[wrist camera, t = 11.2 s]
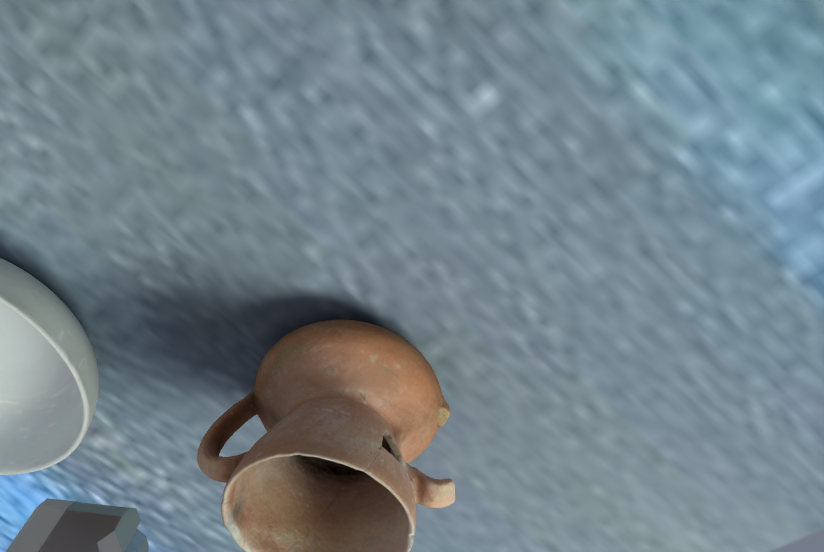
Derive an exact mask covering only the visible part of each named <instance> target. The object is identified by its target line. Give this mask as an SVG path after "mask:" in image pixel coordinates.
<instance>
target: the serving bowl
mask: <svg viewBox="0 0 824 552" xmlns="http://www.w3.org/2000/svg"><path fill="white" fill-rule="evenodd" d="M98 393H99V372H98V366H97V361H96V357H95V354H94V351H93V348H92V345H91V343H90V341H89V338H88V337H87V335H86V333H85V331H84V329H83V327H82V326H81V324H80V323H79V321H78V320H77V318H76V317H75V316H74V314H73V313H72V312H71V311H70V310H69V308H68V307H67V306H66V305H65V304H64V303H63V302H62V301H61V300H60V299H59V298H58V297H57V296H56V295H55V294H54V293H53V292H52V291H51V290H50V289H49V288H47V287H46V286H45V285H44V284H42V283H41V282H40V281H39V280H37V279H36V278H34V277H33V276H32V275H30V274H29V273H27V272H25V271H24V270H22V269H20V268H19V267H17V266H15V265H13V264H12V263H10V262H8V261H6V260H4V259H1V258H0V475H12V474H22V473H28V472H34V471H38V470H41V469H44V468H47V467H49V466H52V465H54V464H56V463H58V462H60V461H62V460H63V459H65V458H66V457H67V456H69V455H70V454H71V453H72V452H73V451H74V450H75V449H76V448H77V447H78V445H79V444H80V443H81V441H82V440H83V438H84V436H85V434H86V432H87V429H88V427H89V425H90V423H91V420H92V418H93V415H94V412H95V408H96V405H97V400H98Z"/></svg>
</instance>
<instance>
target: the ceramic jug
mask: <svg viewBox="0 0 824 552" xmlns="http://www.w3.org/2000/svg"><path fill="white" fill-rule="evenodd" d="M256 414H258V415H259V417H260V419H261V421H262V423H263V425H264V427H265V429H266V430H267V433H266V434H265V435H264V436H263V437H262V438H260V439H259V440H258V441H257V442H256V443H255V444H254V446H253V447H252V448H251V449H250V450H249V451H248V452H245V453H242V454H240V455H237V456H231V457H222V456H220V457H219V453H220V451H221V449H222V448H223V446H224V444H225V443H226V441H227V440H228V439H229V438H230V437H231V436H232V435H233V434H234V432H235V431H237V430H238V429H239V428H240V427H241V426H242V425H243V424H244V423H245V422H247V421H248V420H249V419H250V418H252V417H253V416H254V415H256ZM449 415H450V409H449V406H448V404H447V403H446V400H445V399H444V397H443V394H442V392H441V389H440V385H439V382H438V380H437V377H436V374H435V373H434V371H433V369H432V367H431V366H430V364H429V363H428V361H427V360H426V359H425V357H424V356H423V355H422V354H421V353H420V352H419V351H418V350H417V349H416V348H415V347H414V346H413V345H412V344H410V343H409V342H408V341H406V340H405V339H404V338H402V337H401V336H399V335H397V334H396V333H394V332H392V331H389V330H388V329H385V328H383V327H380V326H377V325H374V324H371V323H367V322H362V321H355V320H327V321H320V322H315V323H312V324H308V325H305V326H303V327H300V328H298V329H296V330H294V331H292V332H290V333H288V334H287V335H285V336H284V337H282V338H281V339H280V340H279V341H277V342H276V343H275V344H274V345H273V346H272V347H271V349H270V350H269V351H268V352H267V353H266V355H265V356H264V358H263V360H262V362H261V364H260V366H259V368H258V371H257V374H256V379H255V386H254V389H253V391H252V393H251V394H249V395H248V396H247V397H245V398H244V399H242V400H241V401H239V402H238V403H236V404H234V405H233V406H232V407H231V408H230V409H228V410H227V411H226V412H225V413H224V414H223V415H222V416H220V417H219V418H218V419H217V420H216V422H214V424H213V425H212V426H211V427H210V429H209V430H208V431H207V433H206V434H205V436H204V437H203V439H202V441H201V443H200V446H199V449H198V455H197V461H198V465H199V467H200V469H201V471H202V472H203V473H204V474H206V475H207V476H208V477H209V478H211V479H213V480H216V481H219V482H227V484H226V486H225V489H224V492H223V499H222V503H221V513H222V519H223V522H224V525H225V527H226V528H227V530H228V531H229V532H230V534H231V536H232V537H233V538H234V540H235V541H236V543H237V544H238V545H239V546H240V547H241V548H242V549H243V550H244V551H246V552H410V549H411V547H412V545H413V540H414V535H415V530H416V505H415V504H416V503H418V504H421V505H424V506H427V507H432V508H440V507H445V506H448V505H450V504H452V503H453V502H454V501H455V484H454V482H453V481H452V480H451V479H443V480H438V479H433V478H430V477H428V476H426V475H425V474H423V473H422V472H421V471H419V470H418V469H417V468H415V467H412V466H410V465H408V463H409V462H411V461H412V460H414V459H415V458H416V457H418V456H419V455H420V454H421V453H422V452H423V451H424V450H425V449H426V448H427V446H428V445H429V444H430V442H431V441H432V439H433V438H434V436H435V434H436V432H437V430H438V428H439V427H442V426H443V425H444V424H445V421H446V420H447V419H448V417H449Z"/></svg>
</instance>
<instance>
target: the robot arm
mask: <svg viewBox="0 0 824 552" xmlns="http://www.w3.org/2000/svg"><path fill="white" fill-rule="evenodd" d="M140 521H141V520H140V517H139V515H138V512H137V509H135V508H126V507H117V506H108V505H99V504H90V503H81V502H77V501H67V500H57V499H46V500H45V501H44V502H42V503H41V504H40V505H39V506H38V507H36V509H35V510H34V512H33V513H32V514H31V516H30V517H29V519H28V520H27V522H26V523H25V524H24V526H23V527H22V529H21V530H20V532H19V533H18V535H17V536H16V537H15V539H14V540H13V542H12V543H11V545H10V546H9V547H8V549H7V550H6V552H148V542H147V538H146V536H145V535H144V534H143V533H141V532H140V531H139V530H138V529H137V527H138V525H139V523H140Z"/></svg>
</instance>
